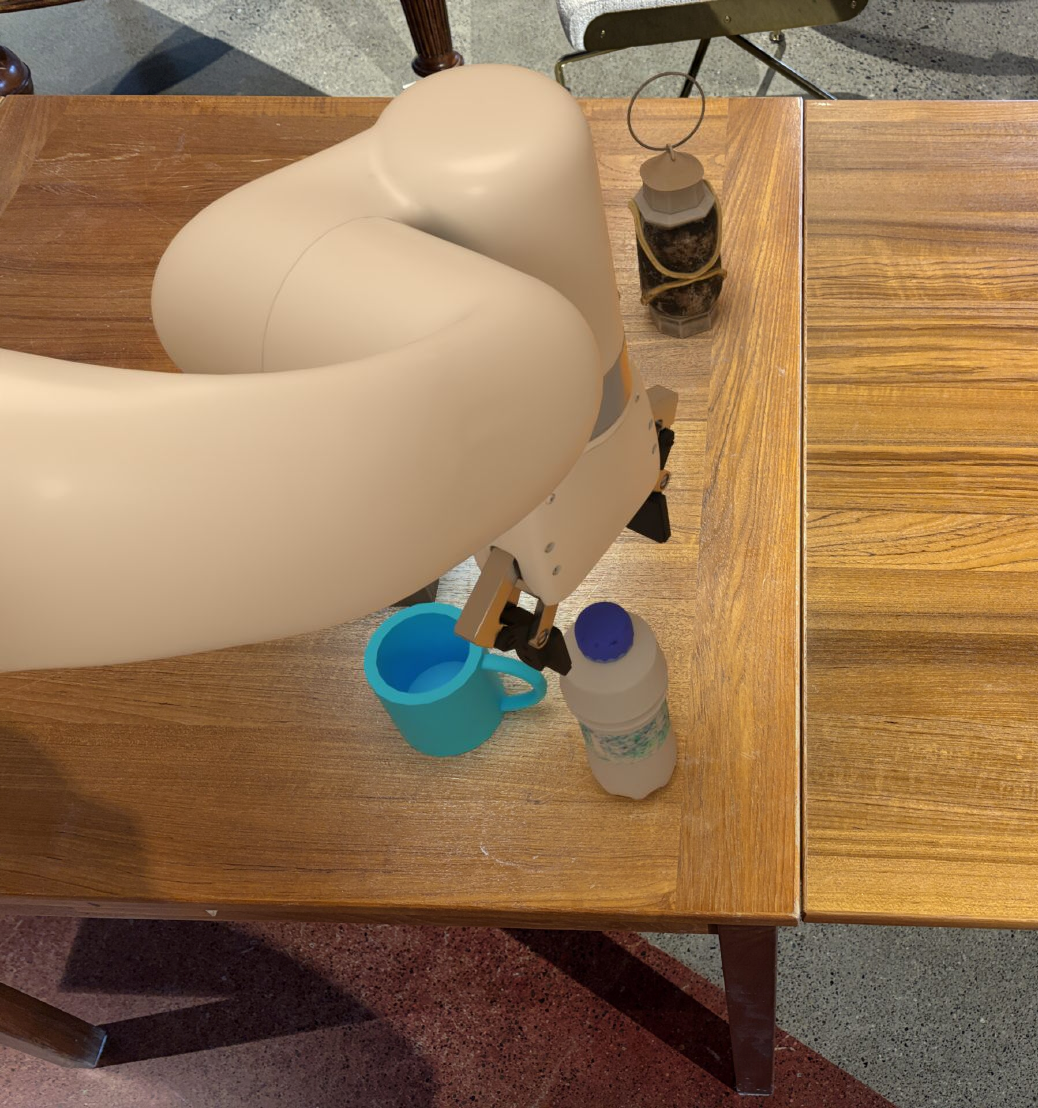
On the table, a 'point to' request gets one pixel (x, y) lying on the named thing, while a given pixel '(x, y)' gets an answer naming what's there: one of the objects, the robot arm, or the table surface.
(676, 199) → the lantern
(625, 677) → the bottle
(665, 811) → the table surface
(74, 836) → the table surface
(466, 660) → the mug
